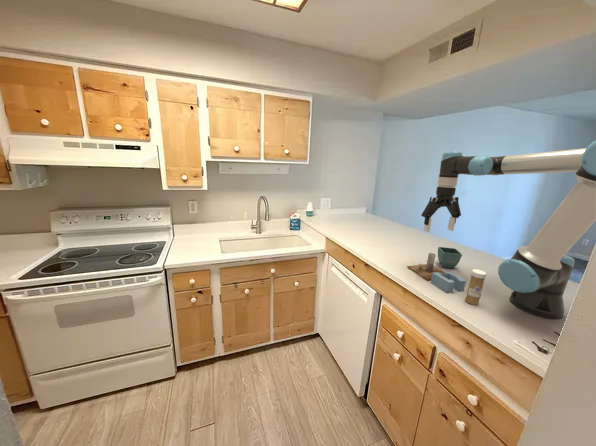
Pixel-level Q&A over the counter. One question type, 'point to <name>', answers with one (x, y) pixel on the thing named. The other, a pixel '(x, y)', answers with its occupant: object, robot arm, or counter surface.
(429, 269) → the post base
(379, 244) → the counter surface
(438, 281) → the blue notched block
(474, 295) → the sprinkles bottle
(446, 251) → the flower pot
